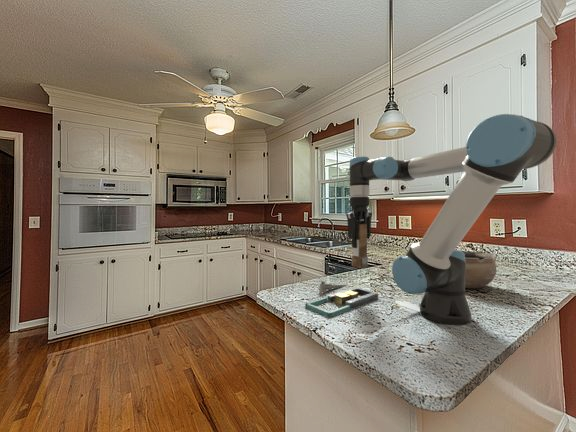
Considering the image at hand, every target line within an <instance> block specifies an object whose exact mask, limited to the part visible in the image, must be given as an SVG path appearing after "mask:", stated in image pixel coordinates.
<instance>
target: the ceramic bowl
mask: <svg viewBox="0 0 576 432" xmlns="http://www.w3.org/2000/svg"><path fill="white" fill-rule="evenodd" d="M461 251H462V252H464V254H465V261H466V264H465V289H482V288H484V287H487V286H488V285H489V284H490V283H491V282H493V280H494V278H495V276H496V274H497V265H496V260H497V257H498V256H497V255H495V254H494V253H493V254H492V253H491V254H489V253H485V252H479V251H478V252H477V251H468V250H461Z"/></svg>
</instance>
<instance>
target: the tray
mask: <svg viewBox="0 0 576 432" xmlns="http://www.w3.org/2000/svg"><path fill="white" fill-rule="evenodd" d="M327 300H328V299H327V296H326V297H325V296H324V297H321V298H318V299H315V300H312V301H309V302H306V303H305V308H306V309H309V310H310V311H314V312H316V313H318V314H321V315H323V316H324V317H327V318H333V317H334V316H338V315H340V314H342V313H346V312H348V311H350V310H351V309H350V306H349V305H347V306H344V307H343V306H341V307H339V308H336V309H333V310H331V311H328V310H326V309H324V308H321V307H318V306H317V305H320V304H323V303H327V302H328V301H327Z"/></svg>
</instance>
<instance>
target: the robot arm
mask: <svg viewBox="0 0 576 432" xmlns="http://www.w3.org/2000/svg"><path fill="white" fill-rule="evenodd" d="M557 141H558V140H557V136H556V133H555V131H554V130H553V129H552V127H550V126H549V125H548V124H546V123H545V122H541V121H538V120H533V119H531V118H529V117H525V116H523V115H518V114H510V113H504V114H503V113H502V114H497V115H493V116H491V117H489V118H486V119H484V120H483V121H481V122H479V123H478V124H476V126H475V127H474V128H473V129H472V130H471V132H470V133H469V134H468V137H467V139H466V142H465V146H463V147H459V148H453V149H450V150H446V151H441V152H436V153H435V152H434V153H431V154H426V155H422V156H417V157H413V158H409V159H404V160H398V159H395V158H394V157H393V156H381V157H378V158H374V159H370V158H369V157H368V156H364V155H363V156H362V155H361V156H353V157H352V158H350V160H349V168H348V169H349V196H350V198H349V206H350V207H351V210H350V212H346V220H347V238H348V239H349V240H351V247H352V248H353V256H359V240H357V239H358V233H359V225H360V224H367V240H368V239H370V237H371V235H372V217H373V216H372V215H373V213H372V212H371V211H370V212H369V210H368V207H370V197H369V196H370V181H376V180H377V181H378V180H379V181H380V180H384V181H385V180H386V181H387V180H388V181H403V182H410V181H413V180H415V179H421V178H428V177H436V176H444V175H451V174H456V173H457V174H458V173H463V174H462V175H461V176H460V178H459V180H458V181H457V183H456V185H455V186H454V188H453V190H452V191H451V192H450V194H449V196H448V197H447V199H446V200H445V202H444V204H443V205H442V206H441V209H440V210H439V212H438V213H437V215H436V217H435V218H434V220H433V221H432V222H431V224H430V226H429V227H428V229H427V230H426V232H425V234H423V236H422V238H421V240H420V241H419V242H414V243H412V245H411V246H410V248H409V249H408V251H407V252H406V254H405V255H400V256H399V257H397V258H396V259H395V260H394V261H393V262H392V265H391V274H392V276H393V280H394V282H395V284H396V285H397V286H398V288H400V290H401V291H402V292H405V293H406V294H409V295H421V294H423V296H422V299H421V302H420V304H419V313H420V315H421V316H423V317H424V318H425V319H427V320H430V321H433V322H436V323H440V324H446V325H453V326H454V325H455V326H461V325H462V326H463V325H467V324H470V323H471V322H472V312H471V309H470V307H469V306H470V305H469V303H468V301H467V300H468V299H467V297H466V288H465V264H466V261H465V254H464V252H462V251H463V250H459V249H457V248H458V246H459V244H461V241H462V240H463V239H464V238H465V236H466V235H467V233H468V232H469V231H470V229H471V228H472V227H473V225H474V224H475V223H476V221H477V220H478V219H479V217H480V215H481V214H482V213H483V211H484V210H485V209H486V207H487V206H488V204H489V203H490V202H491V201H492V199H493V198H494V197H495V195H496V194H497V192H498V191H499V189H500V188H501V187H503V186H504V185H508V184H509V185H510V184H513V183H514V181H515V180H516V179H517V178H518V176H519V175H520V173H521V172H522V171H523V170H526V169H532V168H535V167H537V166H539V165H541V164H543V163H544V162H546V161H548V159H549V158H550V157H551V156H552V155H553V154H554V152H555V150H556V147H557V143H558V142H557ZM352 248H351V249H352Z"/></svg>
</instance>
